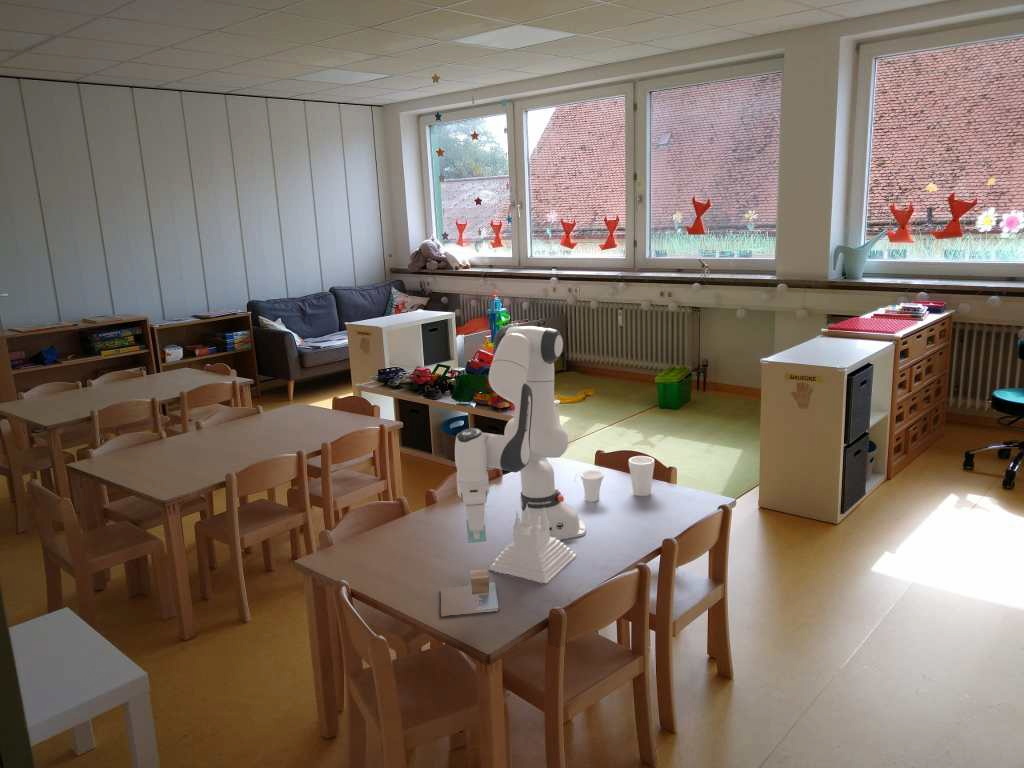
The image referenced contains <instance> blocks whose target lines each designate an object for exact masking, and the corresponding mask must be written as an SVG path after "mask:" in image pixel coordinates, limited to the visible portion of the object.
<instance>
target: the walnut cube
mask: <svg viewBox="0 0 1024 768" xmlns="http://www.w3.org/2000/svg"><path fill="white" fill-rule="evenodd" d="M469 572H470V584H471V589H472V595H476V594H487V593H490V592H489V583H490V581H489V580H490V579H489V569H488V568H487V569H475V570H469Z"/></svg>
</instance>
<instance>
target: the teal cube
mask: <svg viewBox="0 0 1024 768" xmlns="http://www.w3.org/2000/svg"><path fill="white" fill-rule="evenodd" d="M466 529H467V542H468V544H471V543H472V544H474V543H484V542H487V534H486V531H487V530H486V520H484V528H483V531H480V538H479V539H474V536H473V532H471V531H470V528H469V524H468V518H466Z"/></svg>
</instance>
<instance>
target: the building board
mask: <svg viewBox="0 0 1024 768" xmlns="http://www.w3.org/2000/svg"><path fill="white" fill-rule="evenodd" d="M489 592H490V593H487V594H478V595H479V596H478V597H480V598H481V599H482V600H479V603H480V602H482V604H478V605H479V606H480V605H481V606H482V607H478V608H479V609H475V610H488V609H499V603H498V595H497V588H496V582H494V581H492V582H489ZM476 595H477V594H476ZM476 601H477V600H476ZM484 607H485V608H484ZM480 608H481V609H480Z"/></svg>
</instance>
